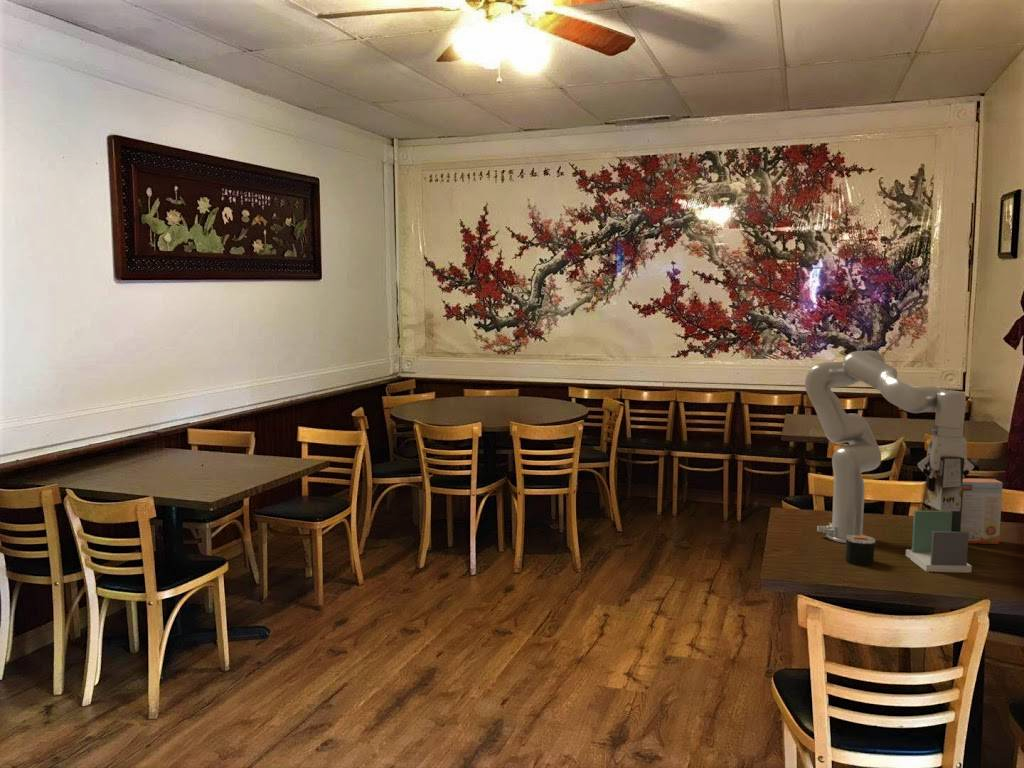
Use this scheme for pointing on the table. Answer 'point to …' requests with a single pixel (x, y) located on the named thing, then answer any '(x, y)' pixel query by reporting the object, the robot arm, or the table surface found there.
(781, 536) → the table surface
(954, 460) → the coffee box
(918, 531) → the shelf
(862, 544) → the sushi
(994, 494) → the cracker box
